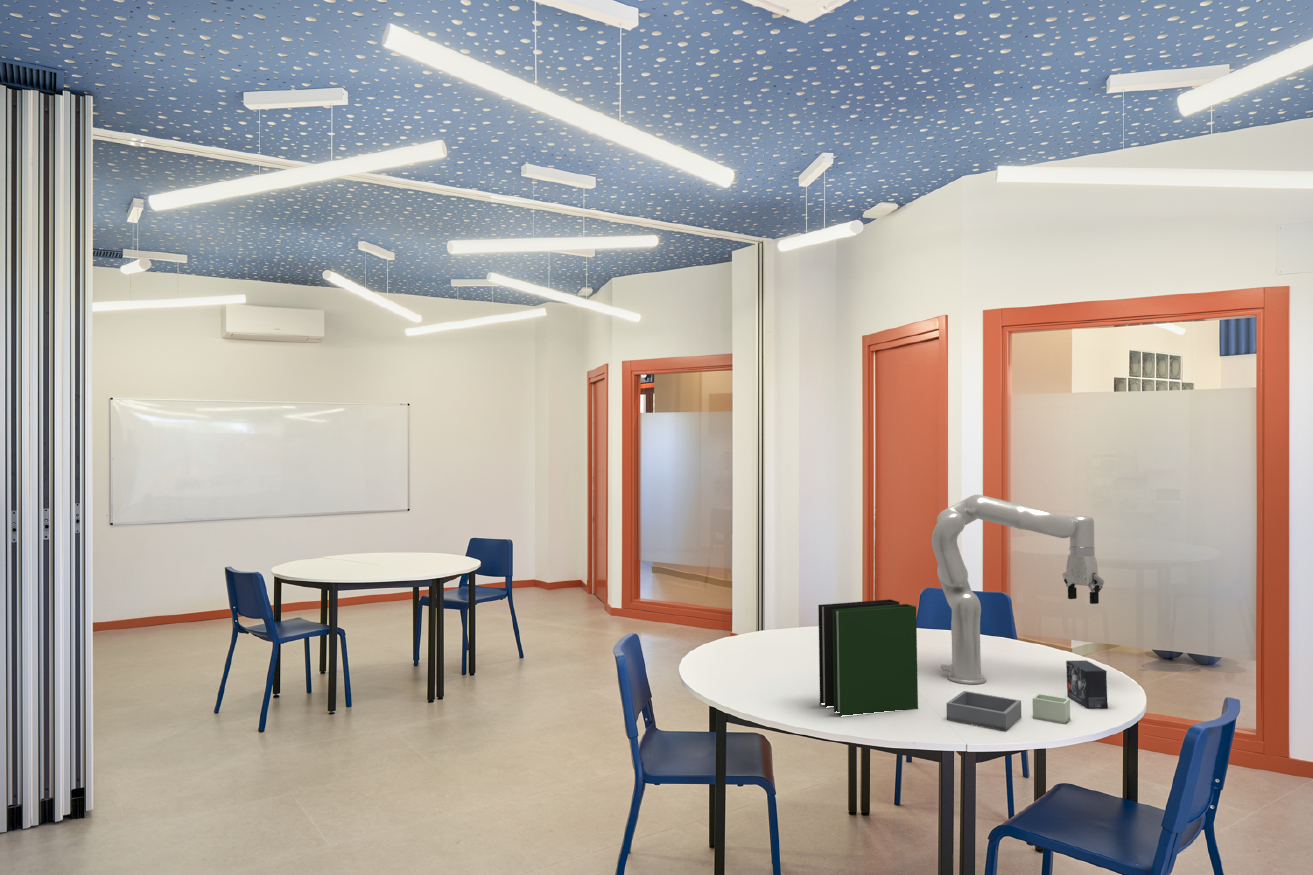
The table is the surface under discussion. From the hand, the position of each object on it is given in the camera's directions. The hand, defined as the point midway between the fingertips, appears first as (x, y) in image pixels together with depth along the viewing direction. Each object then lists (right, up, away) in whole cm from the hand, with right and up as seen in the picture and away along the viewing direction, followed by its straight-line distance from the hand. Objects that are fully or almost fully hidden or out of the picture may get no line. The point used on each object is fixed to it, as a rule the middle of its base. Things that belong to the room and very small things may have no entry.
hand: (1083, 601), depth 278 cm
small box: (-10, -29, -21) cm, 37 cm away
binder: (-81, -29, -23) cm, 89 cm away
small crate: (-29, -28, -36) cm, 54 cm away
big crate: (-49, -28, -36) cm, 67 cm away
